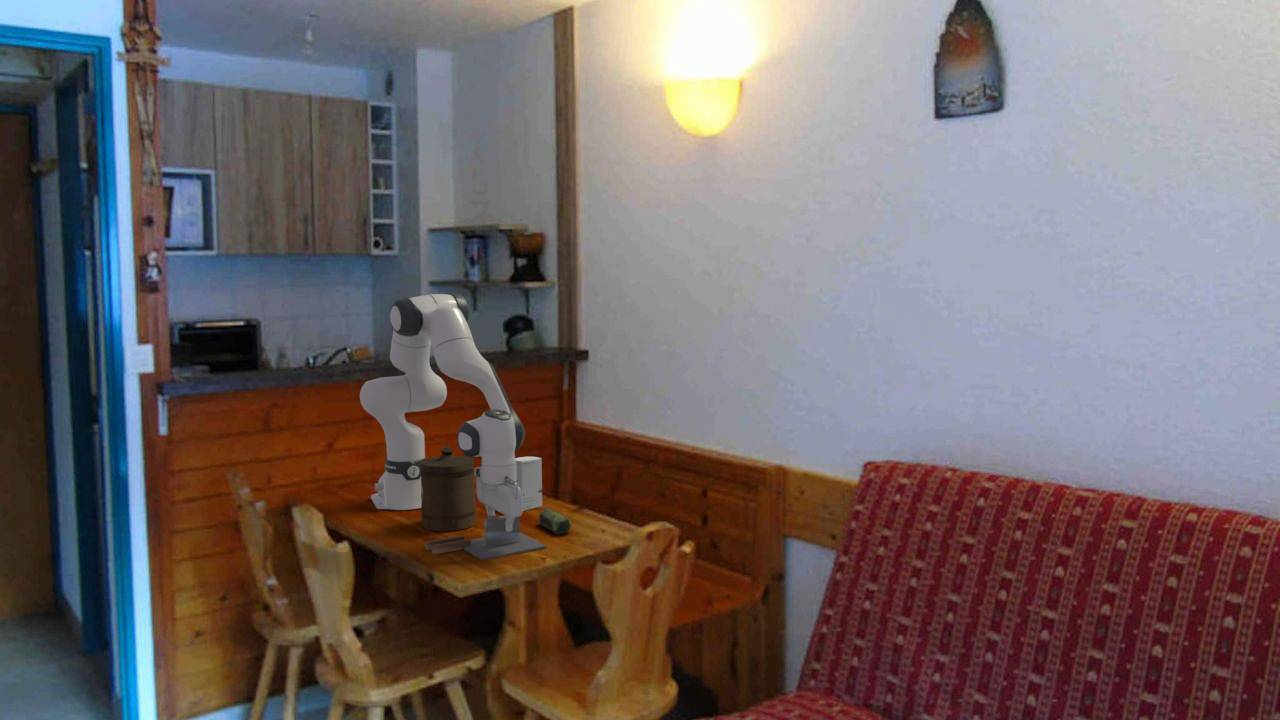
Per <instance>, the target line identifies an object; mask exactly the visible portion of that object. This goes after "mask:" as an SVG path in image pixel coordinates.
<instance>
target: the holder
mask: <svg viewBox="0 0 1280 720" xmlns="http://www.w3.org/2000/svg"><path fill="white" fill-rule="evenodd" d="M470 540H471V539H469V538H466V539H465V536H464V535H462V534H461V535H455V536H449V537H444V538H443V537H442V538H438V539H433V540H427V541H425V547H424V548H425V550H426V551H430V552H431V554H432V555H434V554H435V555H440V554H445V552H446V553H450V552H455V551H461V550H464V549H463V547H466V546H471V541H470Z"/></svg>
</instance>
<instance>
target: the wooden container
mask: <svg viewBox="0 0 1280 720" xmlns="http://www.w3.org/2000/svg"><path fill="white" fill-rule="evenodd" d="M440 452H441V455H438V456H432V457H426V459H424V460H422V461H421V508H420V509H421V525H422V528H424V529H425V530H428V531H433V532H454V531H461V530H464V529H465V530H466V529H469V528H471V527H474V526H475V525H476V524H477V512H476V510H477V505H476V503H477V502H476V487H475V486H476V482H475V464H474V461H475V460H474V458H472V457H470V456H466V455H454V454H453V452H454V449H453V448H452V447H451V446H449V445H448V446H447V445H446V446H443V447H442V448H441V449H440Z"/></svg>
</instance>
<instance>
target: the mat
mask: <svg viewBox="0 0 1280 720" xmlns="http://www.w3.org/2000/svg"><path fill="white" fill-rule="evenodd" d="M469 540H470V541H471V546H466V547H463V549H462V550H464V551H466V553H469V554H470V553H471V554H470V555H472V554H473V555H472V556H473V557H475V556H476V557H475V558H477V557H478V558H479V560H480V559H481V560H480V561H484V560H483V559H487V560H491V559H490V558H493V559H497V558H496V557H498V558H502V557H508V556H514V555H517V554H522V553H523V554H524V553H527V552H533V551H538V550H543V549H547V545H545V544H543V543H542V542H540V541H538V540H536V539H535V538H532V537H531V536H529V535H526V534H524V533H522V532H521V531H520V542H516V543H510V544H505V545H500V546H494V547H489V548H488V547H486V546H485V536H483V537H478V538H473V539H469ZM478 558H477V559H478Z"/></svg>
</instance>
